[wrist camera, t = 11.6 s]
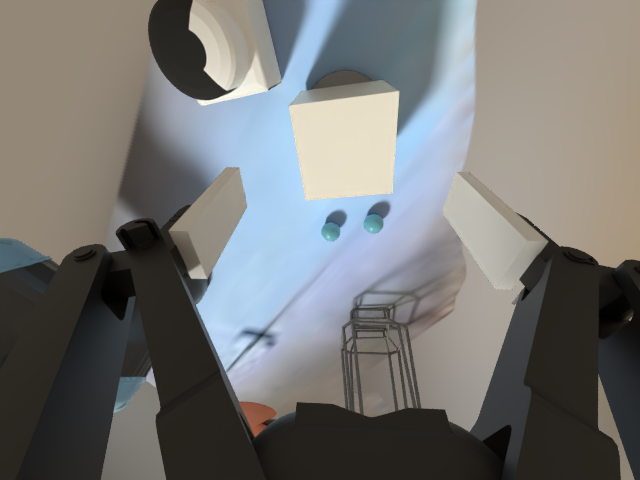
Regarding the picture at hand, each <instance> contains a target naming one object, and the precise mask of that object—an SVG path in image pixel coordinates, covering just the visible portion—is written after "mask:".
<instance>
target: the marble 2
mask: <svg viewBox="0 0 640 480" xmlns="http://www.w3.org/2000/svg"><path fill="white" fill-rule="evenodd" d="M383 224H384V223H383V219H382V218H381V217H380V216H379V215H377V214H371V215H368V216H367V217H366V218H365V220H364V228H365V230H366V231H367V232H369V233H372V234H375V233H378V232H380V231H381V230H382V228H383Z"/></svg>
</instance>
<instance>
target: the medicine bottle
mask: <svg viewBox="0 0 640 480" xmlns="http://www.w3.org/2000/svg"><path fill="white" fill-rule="evenodd" d="M148 33H149V41H150V46H151V49H152V53H153V55H154V58H155V60H156V62H157V64H158V66H159V68H160V69H161V71H162V72H163V74H164V75H165V76H166V78H167V79H168V80H169V81H170V82H171V83H172V84H173V85H174V86H175V87H176V88H177V89H178V90H180V91H181V92H182V93H184V94H186V95H188V96H190V97H192V98H194V99H197V101H198V103H199V104H200V105H208V104H212V103H217V102H221V101H226V100H230V99H235V98H239V97H244V96H248V95H253V94H257V93H261V92H266V91H268V90H270V89H271V88H273V87H275V86H276V85H278V84H280V83H281V81H282V80H281V75H280V71H279V67H278V63H277V58H276V54H275V50H274V46H273V42H272V38H271V34H270V29H269V25H268V21H267V17H266V13H265V9H264V4H263V1H262V0H158V1H157V2H156V3H155V5H154V7H153V8H152V11H151V14H150V17H149V23H148Z"/></svg>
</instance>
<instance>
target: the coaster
mask: <svg viewBox="0 0 640 480" xmlns="http://www.w3.org/2000/svg"><path fill="white" fill-rule="evenodd" d="M370 81H371V80H370V79H369V78H368V77H366V76H364V75H363V74H360V73H358V72H354V71H348V70H344V71H337V72H333V73H331V74H328V75H327V76H325V77H323V78H322V79H321V80H319V81H318V82H317V83H316V84H315V85H314V87H313V88H312V89H320V88H327V87H334V86H341V85H349V84H356V83H363V82H370ZM312 89H311V90H312Z"/></svg>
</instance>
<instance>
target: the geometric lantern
mask: <svg viewBox="0 0 640 480" xmlns="http://www.w3.org/2000/svg"><path fill="white" fill-rule="evenodd" d="M353 311H354V318H353V319H352V313H353ZM355 311H383V312H384V317H385V318H356V315H355ZM385 311H386V312H387V317H386V313H385ZM358 319H387V322H377V321H356V320H358ZM350 320H351V321H349V322H348V323H347V324H345V325H344V326H343V327H342V337H341V359H342V371H343V383H344V396H345V408H346V409H348V399H349V410H350V411H353V412H355V411H354V392H353V371H352V354H354V355H355V365H356V376H357V386H358V396H359V406H360V414H362V415H364V412H363V402H362V393H361V384H360V374H359V365H358V355H388V358H389V365H390V373H391V381H392V388H393V396H394V403H395V411H398V405H397V398H396V391H395V384H394V377H393V370H392V362H391V355H392V354H396V353H398V360H399V367H400V375H401V382H402V389H403V397H404V405H405V409H406V408H408V405H407V399H406V391H405V385H404V379H403V378H404V377H403V370H402V363H401V355H400V349H402V354H403V359H404V364H405V369H406V374H407V379H408V384H409V389H410V394H411V399H412V404H413V408H417V407H418V408H421V405H420V398H419V392H418V387H417V380H416V374H415V368H414V362H413V356H412V350H411V343H410V338H409V332H408V328H407V327H406V326H405V325H402V324H400V323H397V322H395V321H393V320H391V319H390V316H389V311H388V310H385V309H353V310H352V311H351V312H350ZM390 321H391V322H390ZM354 323H362V324H382V325H386V329H384V330H355V328H354ZM350 324H351V330H352V337H351V338H350V339H349V340H348V341H347V342H346V335H345V328H346V327H347V326H349V325H350ZM390 325H397V329H398V334H399V339H400V344H399V347H398V348H397V347H396V346H395V344H394V343H393V342H392V340H391V339H390V338H389V328H390ZM400 327H402V328H405V330H404V333H403V336H402V334H401V330H400ZM385 331H386V332H387V336H385ZM355 332H356V337H355ZM357 332H383V337H360V338H357ZM405 335H406V337H407V343H408V349H409V355H410V362H411V368H412V375H413V381H414V387H415V394H416V400H417V407H416V402H415V397H414V392H413V387H412V383H411V378H410V373H409V369H408V364H407V358H406V354H405V349H404V344H403V341H404V338H405ZM352 338H353V345H352V347H351V350H350V351H348V350H347V345H346V344H347V343H348V342H349V341H350V340H351V339H352ZM386 338H388V339H389V340H390V342H391V343H392V344H393V346H394V347H395V348H396V351H393V352H389V348H388V345H387V341H386ZM356 339H384V340H385V343H386V347H387V351H388V353H376V352H357V346H356ZM343 343H344V345H343ZM343 347H344V348H343ZM353 347H354V352H352V349H353ZM343 351H344V353H345V364H346V376H347V387H348V399H347V388H346V376H345V365H344V354H343ZM347 353H348V354H350V376H349V366H348V355H347ZM357 354H358V355H357ZM350 381H351V386H350Z"/></svg>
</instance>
